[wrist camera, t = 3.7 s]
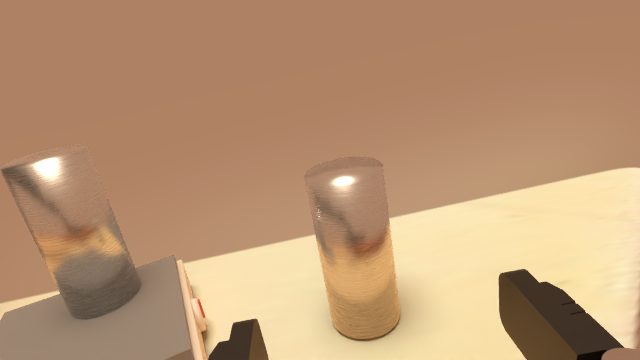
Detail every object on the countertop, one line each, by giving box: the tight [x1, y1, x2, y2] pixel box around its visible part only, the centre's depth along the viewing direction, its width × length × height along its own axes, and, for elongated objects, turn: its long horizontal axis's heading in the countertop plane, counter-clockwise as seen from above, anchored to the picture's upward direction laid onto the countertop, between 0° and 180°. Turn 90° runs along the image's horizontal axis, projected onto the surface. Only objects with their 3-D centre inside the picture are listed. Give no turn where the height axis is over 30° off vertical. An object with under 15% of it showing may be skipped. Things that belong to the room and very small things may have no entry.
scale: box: [0, 255, 207, 360], centre depth 24 cm, size 12×12×3 cm
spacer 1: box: [0, 144, 141, 320], centre depth 25 cm, size 4×4×10 cm
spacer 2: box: [305, 157, 400, 339], centre depth 24 cm, size 4×4×10 cm
